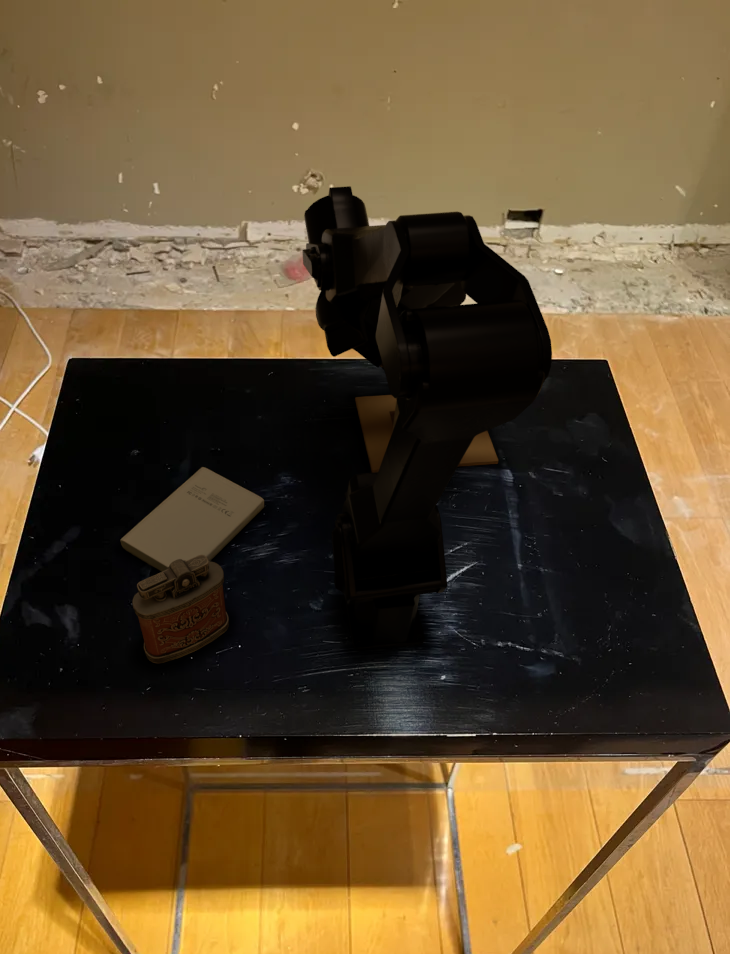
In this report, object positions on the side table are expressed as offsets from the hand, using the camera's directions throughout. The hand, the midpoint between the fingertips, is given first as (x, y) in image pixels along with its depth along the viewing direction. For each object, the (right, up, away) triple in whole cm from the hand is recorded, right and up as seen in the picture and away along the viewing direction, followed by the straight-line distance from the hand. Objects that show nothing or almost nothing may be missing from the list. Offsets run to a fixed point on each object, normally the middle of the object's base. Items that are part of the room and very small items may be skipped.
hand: (442, 374), depth 88 cm
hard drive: (-26, -17, -5) cm, 31 cm away
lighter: (-25, -27, -13) cm, 39 cm away
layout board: (-1, -5, +5) cm, 7 cm away
